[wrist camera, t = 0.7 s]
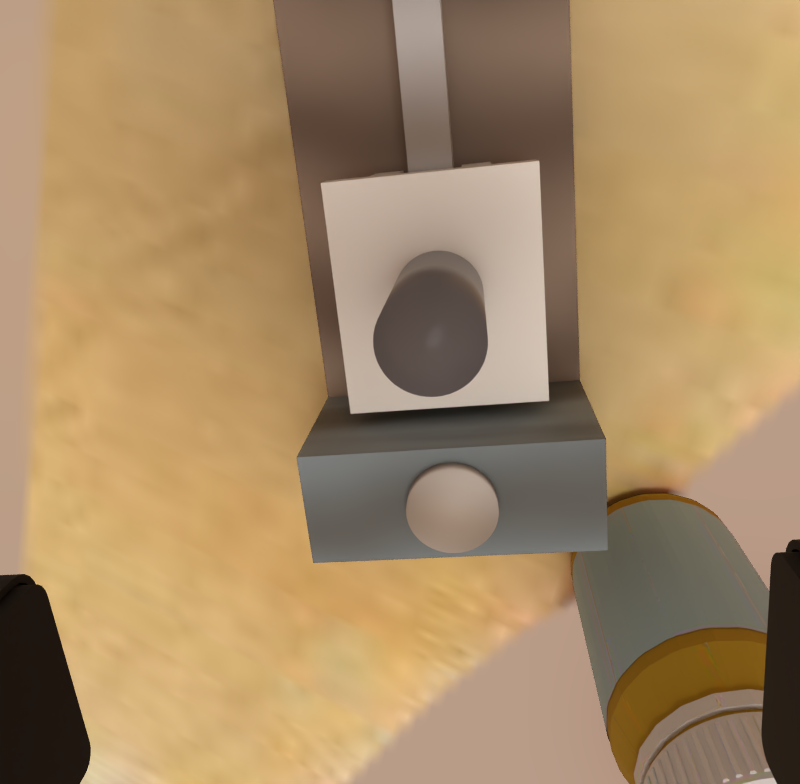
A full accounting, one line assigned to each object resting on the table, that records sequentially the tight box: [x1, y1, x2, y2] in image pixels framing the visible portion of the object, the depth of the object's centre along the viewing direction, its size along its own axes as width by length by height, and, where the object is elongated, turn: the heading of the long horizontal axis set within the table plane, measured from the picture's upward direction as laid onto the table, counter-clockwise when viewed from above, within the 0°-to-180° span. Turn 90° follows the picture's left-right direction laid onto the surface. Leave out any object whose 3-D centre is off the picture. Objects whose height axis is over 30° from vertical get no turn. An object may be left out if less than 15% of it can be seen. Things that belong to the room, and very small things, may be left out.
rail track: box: [273, 0, 608, 563], centre depth 25 cm, size 28×10×8 cm, turn 6°
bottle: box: [571, 493, 777, 784], centre depth 26 cm, size 7×7×15 cm
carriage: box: [321, 160, 549, 414], centre depth 24 cm, size 8×7×9 cm
